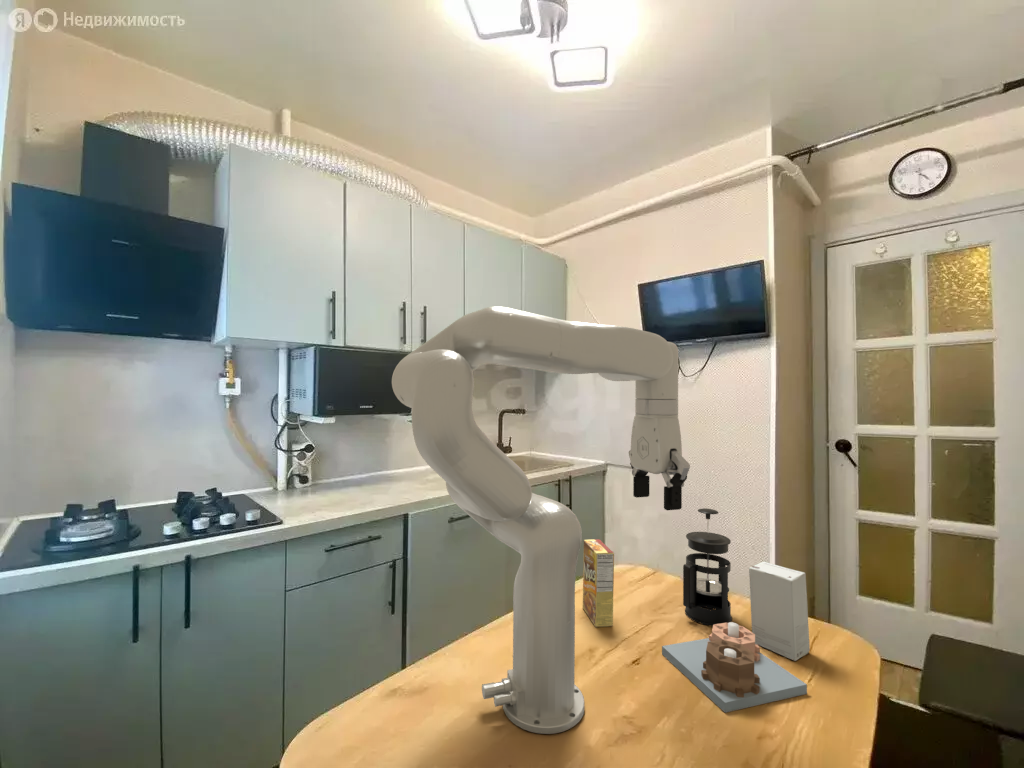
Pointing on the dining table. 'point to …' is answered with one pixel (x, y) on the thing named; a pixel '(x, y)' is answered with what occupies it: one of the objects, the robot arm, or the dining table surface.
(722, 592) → the french press
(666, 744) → the dining table surface
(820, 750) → the dining table surface
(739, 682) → the walnut gear
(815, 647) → the dining table surface
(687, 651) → the gear board
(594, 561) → the candy box
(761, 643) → the skincare box
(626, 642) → the dining table surface
